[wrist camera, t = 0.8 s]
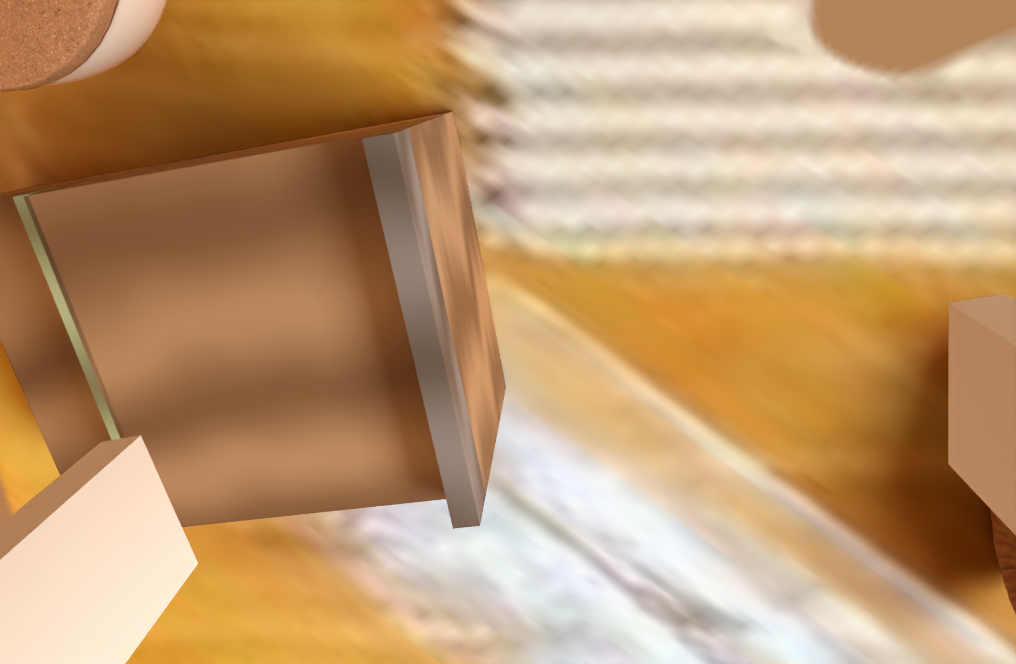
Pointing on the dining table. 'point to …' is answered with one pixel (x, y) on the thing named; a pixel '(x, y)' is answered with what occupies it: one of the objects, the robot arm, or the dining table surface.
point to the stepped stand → (265, 323)
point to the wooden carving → (1005, 555)
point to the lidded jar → (70, 38)
